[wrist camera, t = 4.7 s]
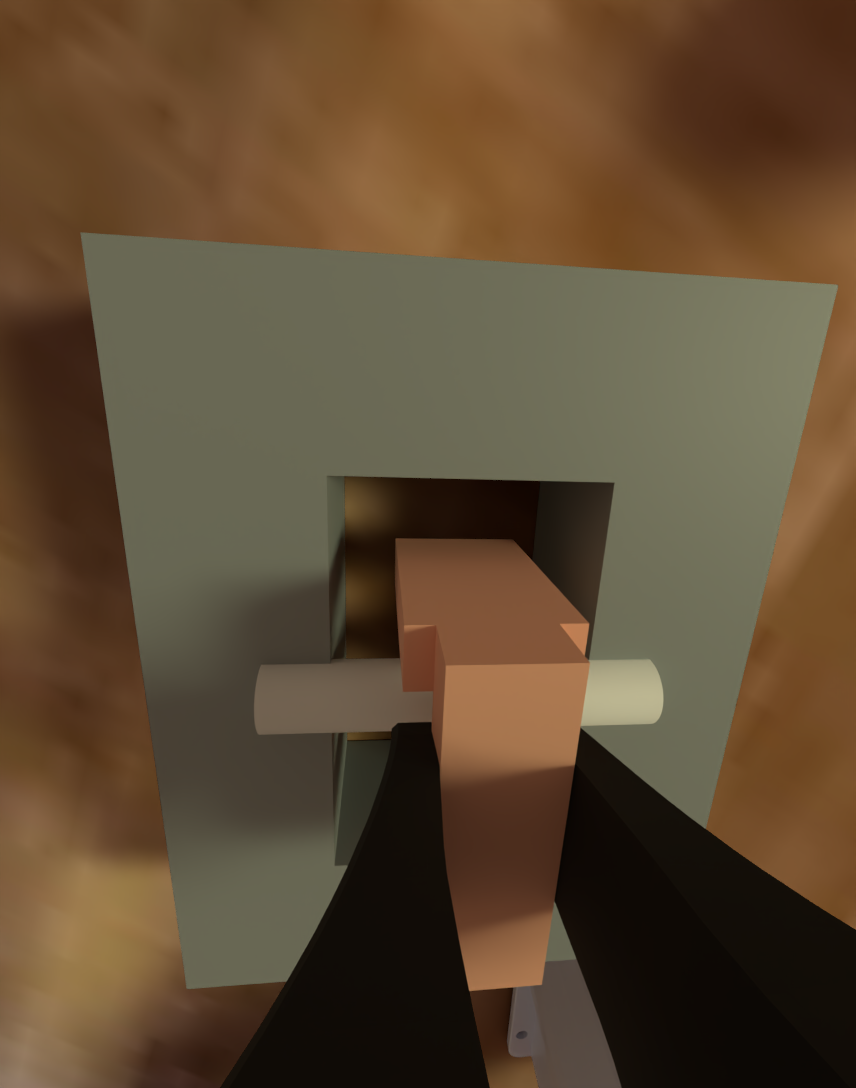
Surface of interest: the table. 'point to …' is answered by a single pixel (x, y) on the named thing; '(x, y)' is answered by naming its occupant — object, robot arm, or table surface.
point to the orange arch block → (496, 736)
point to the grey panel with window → (421, 452)
